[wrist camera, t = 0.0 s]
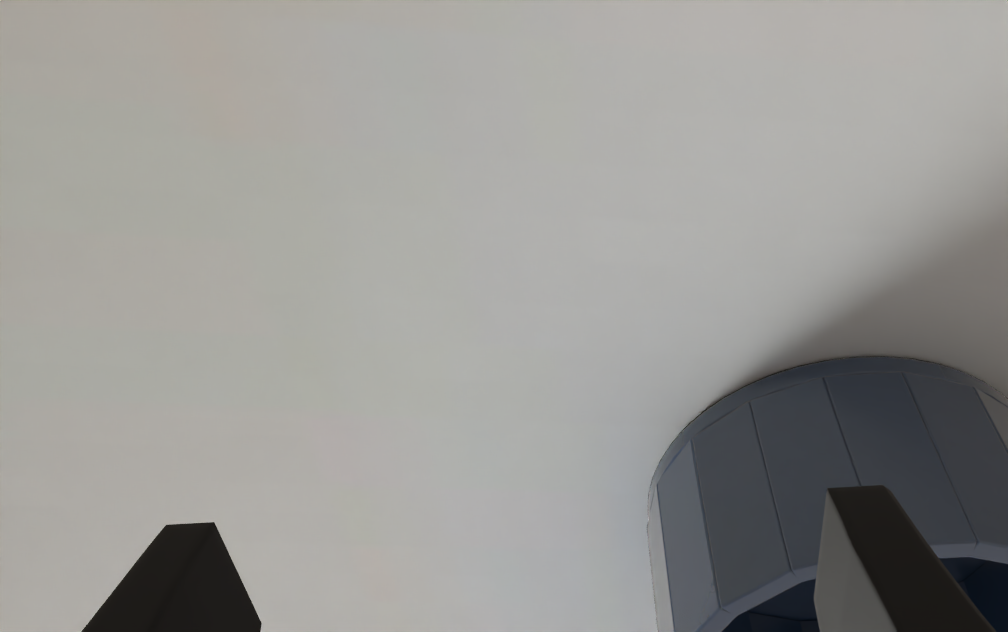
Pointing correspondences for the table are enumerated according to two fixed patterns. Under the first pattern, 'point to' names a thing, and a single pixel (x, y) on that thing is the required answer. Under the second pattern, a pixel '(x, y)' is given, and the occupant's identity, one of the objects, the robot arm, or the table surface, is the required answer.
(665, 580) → the dark grey hollow cylinder
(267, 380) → the table surface
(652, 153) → the table surface
